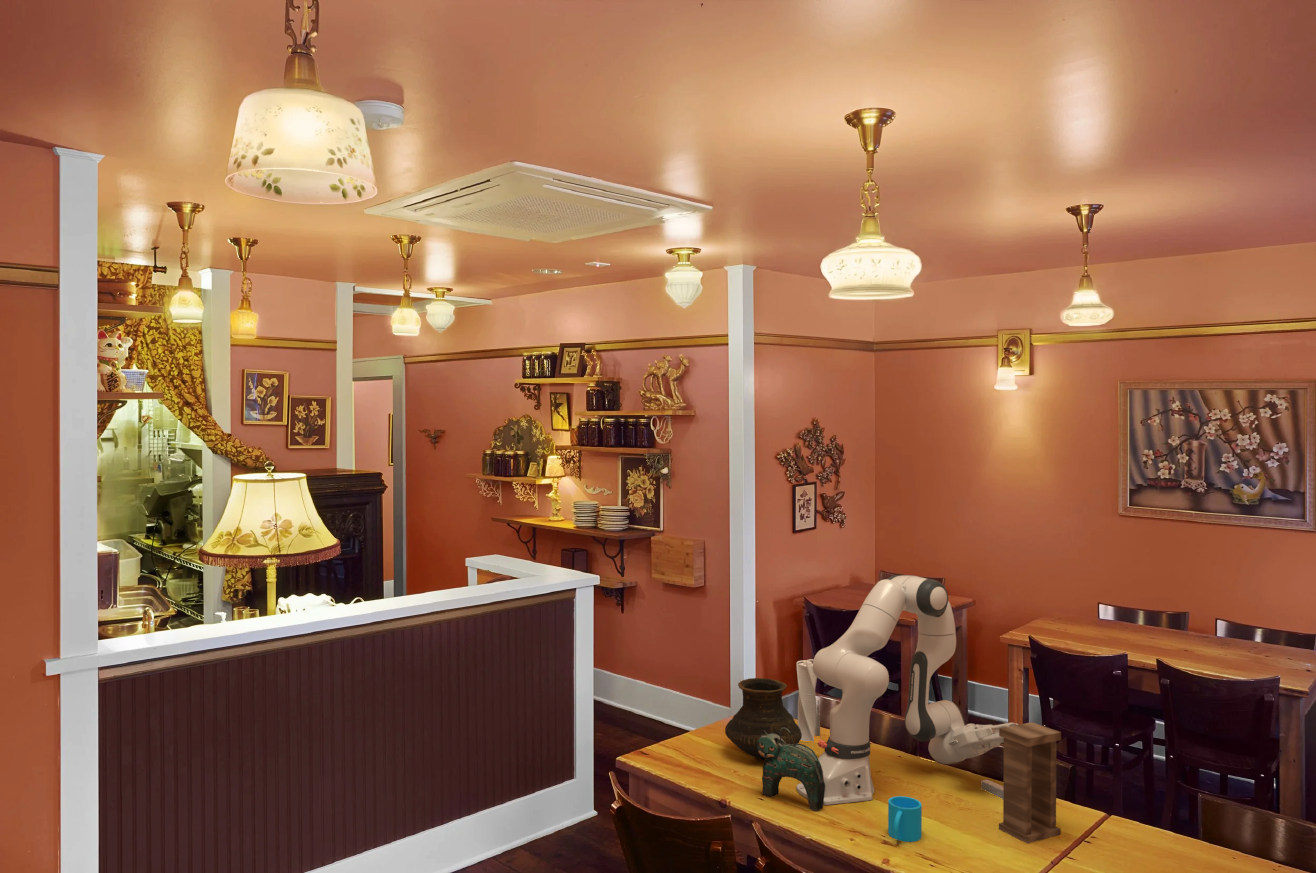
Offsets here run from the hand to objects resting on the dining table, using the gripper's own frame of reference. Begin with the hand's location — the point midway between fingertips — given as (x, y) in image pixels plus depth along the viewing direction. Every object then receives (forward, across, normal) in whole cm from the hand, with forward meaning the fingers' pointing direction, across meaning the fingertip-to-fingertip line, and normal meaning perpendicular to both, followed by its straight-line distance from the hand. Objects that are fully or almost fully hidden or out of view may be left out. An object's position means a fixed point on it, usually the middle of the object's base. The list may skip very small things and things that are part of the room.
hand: (1004, 728), depth 246 cm
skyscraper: (-65, -21, -14) cm, 70 cm away
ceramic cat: (-30, -56, +5) cm, 64 cm away
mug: (-4, -44, +21) cm, 49 cm away
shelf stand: (+6, -12, +26) cm, 30 cm away
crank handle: (-9, +2, +18) cm, 20 cm away
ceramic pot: (-60, -43, -12) cm, 75 cm away
